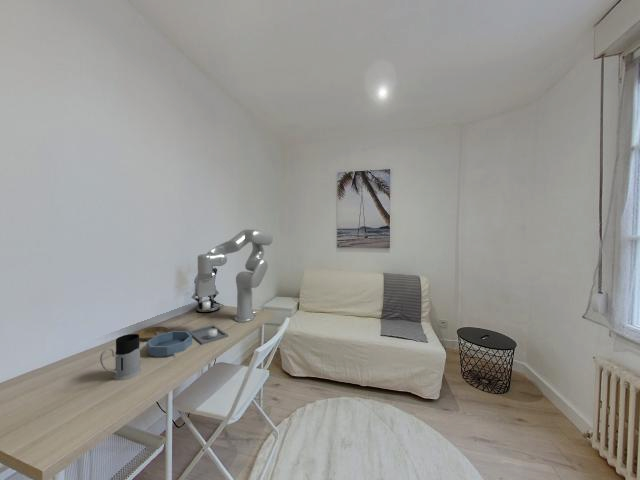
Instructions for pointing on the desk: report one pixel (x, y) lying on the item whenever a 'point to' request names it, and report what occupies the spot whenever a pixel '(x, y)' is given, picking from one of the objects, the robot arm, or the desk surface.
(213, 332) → the pebble
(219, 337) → the tray
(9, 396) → the desk surface
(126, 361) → the glass holder
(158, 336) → the bowl
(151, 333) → the plant saucer
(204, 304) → the pebble
